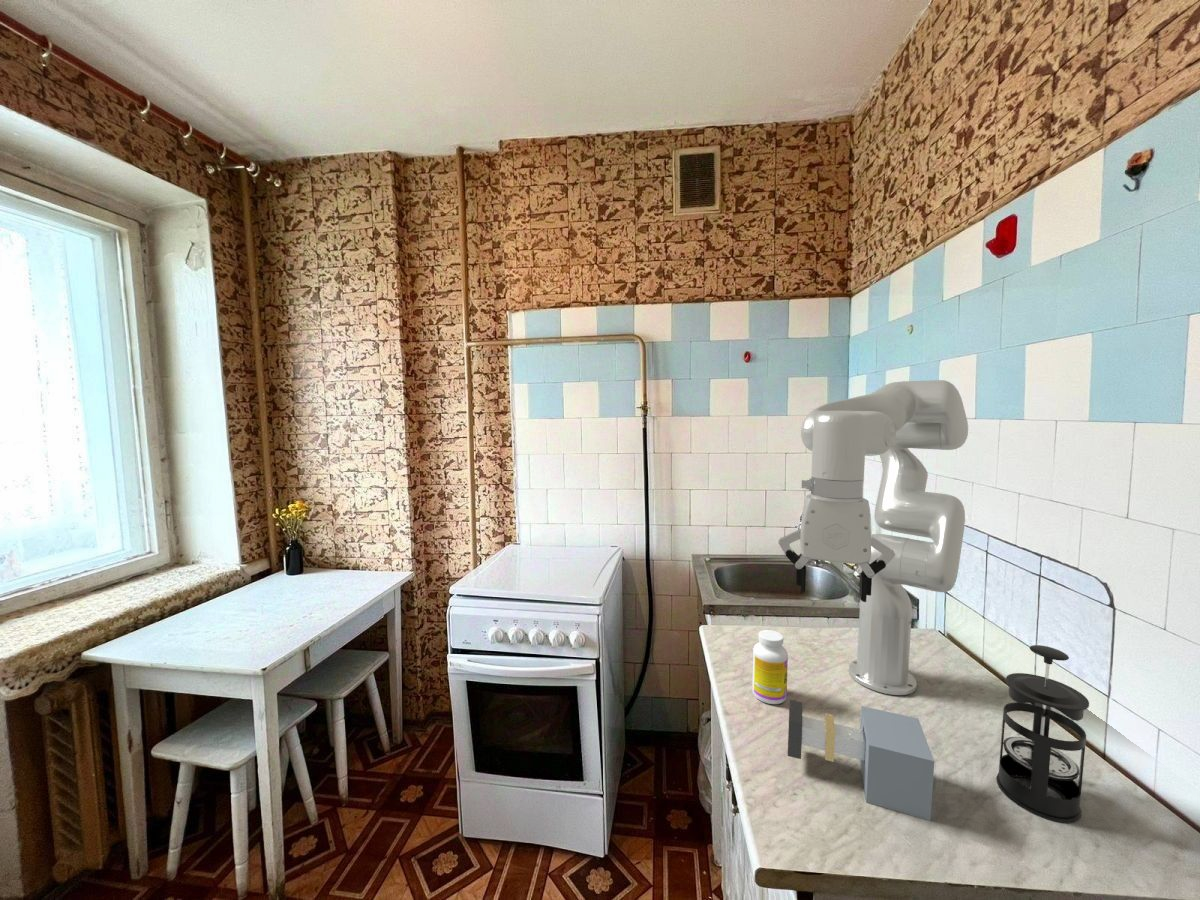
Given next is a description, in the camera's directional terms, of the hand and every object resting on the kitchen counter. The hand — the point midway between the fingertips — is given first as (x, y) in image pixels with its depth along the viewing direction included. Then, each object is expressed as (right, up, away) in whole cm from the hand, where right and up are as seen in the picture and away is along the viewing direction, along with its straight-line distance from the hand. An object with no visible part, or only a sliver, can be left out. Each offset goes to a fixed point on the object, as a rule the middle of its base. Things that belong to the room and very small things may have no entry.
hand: (832, 594), depth 77 cm
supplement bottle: (-3, -27, +19) cm, 33 cm away
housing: (+7, -29, -4) cm, 30 cm away
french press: (+28, -29, -5) cm, 41 cm away
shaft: (0, -26, -1) cm, 26 cm away
